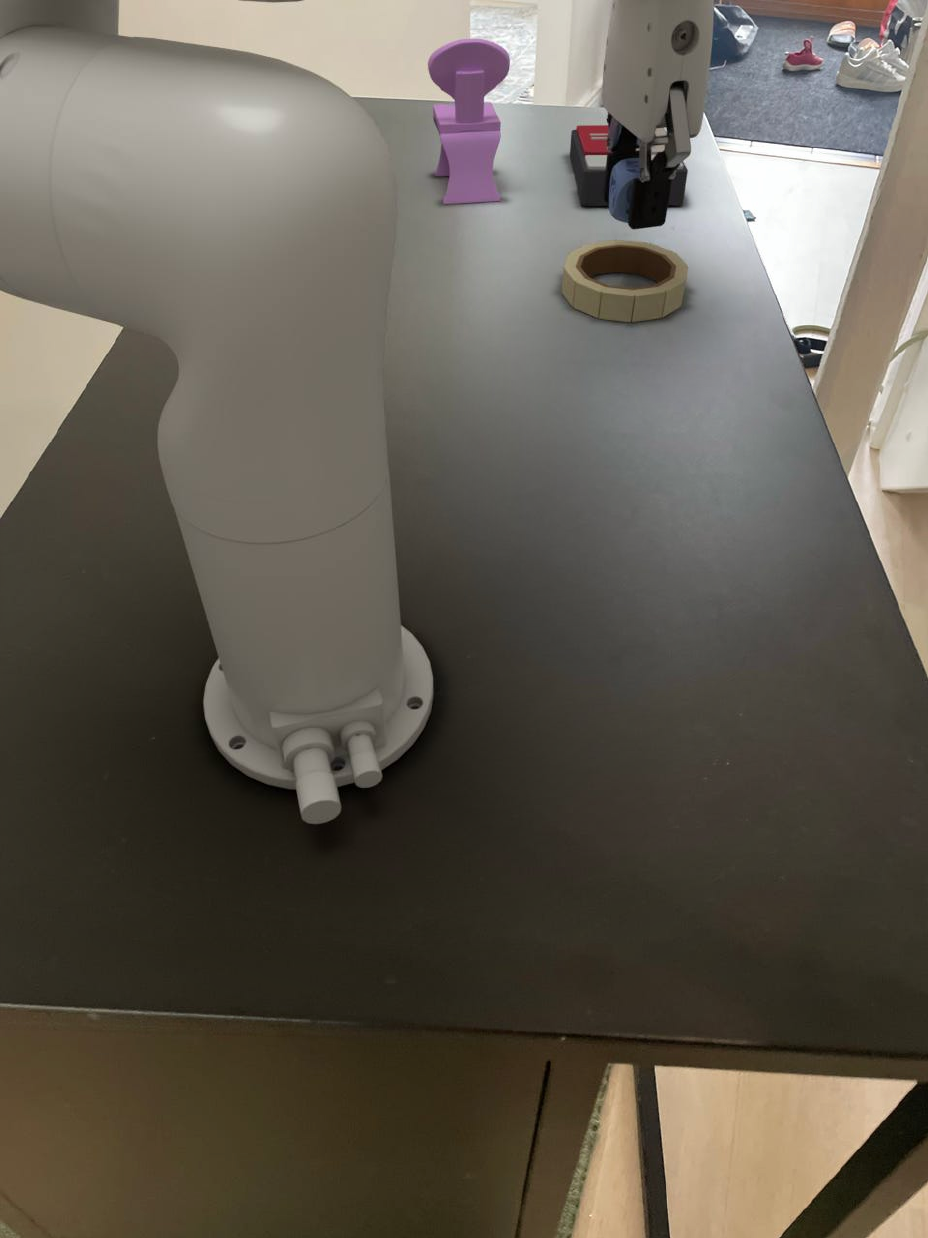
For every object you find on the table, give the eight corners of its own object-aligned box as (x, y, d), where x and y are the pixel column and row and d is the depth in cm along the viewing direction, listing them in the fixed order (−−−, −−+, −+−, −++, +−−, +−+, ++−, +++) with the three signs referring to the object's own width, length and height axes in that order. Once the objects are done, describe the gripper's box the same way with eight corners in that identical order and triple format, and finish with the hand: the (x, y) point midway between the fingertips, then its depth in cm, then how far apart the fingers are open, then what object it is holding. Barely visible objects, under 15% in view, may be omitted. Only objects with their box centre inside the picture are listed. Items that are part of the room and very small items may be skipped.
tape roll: (703, 312, 82) (708, 285, 80) (588, 329, 80) (591, 302, 78) (652, 259, 89) (656, 233, 87) (546, 273, 87) (548, 248, 85)
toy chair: (497, 170, 105) (500, 18, 94) (510, 200, 99) (515, 41, 88) (425, 174, 104) (420, 21, 93) (434, 204, 98) (430, 45, 87)
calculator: (666, 121, 105) (690, 162, 95) (661, 161, 108) (683, 205, 97) (571, 121, 105) (584, 162, 95) (568, 161, 108) (581, 206, 97)
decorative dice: (652, 204, 81) (659, 156, 78) (659, 223, 78) (667, 174, 75) (607, 205, 80) (612, 157, 78) (613, 224, 78) (618, 175, 75)
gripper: (770, -19, 61) (717, 249, 74) (664, -68, 72) (633, 172, 85) (667, -12, 60) (631, 260, 73) (575, -62, 71) (558, 181, 84)
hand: (633, 210), depth 79 cm, fingers closed on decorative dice, 4 cm apart
